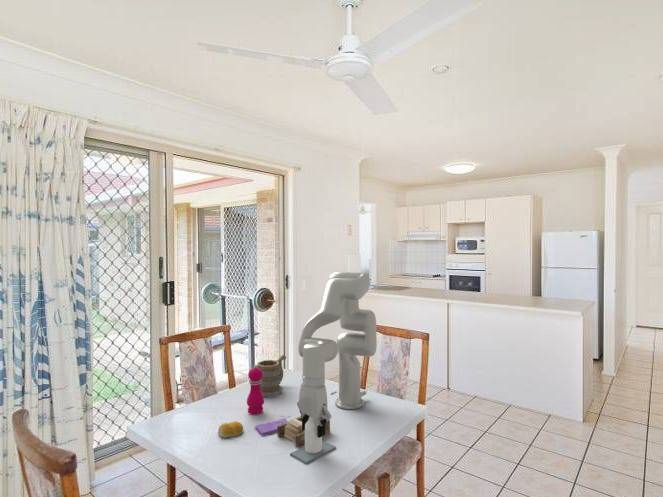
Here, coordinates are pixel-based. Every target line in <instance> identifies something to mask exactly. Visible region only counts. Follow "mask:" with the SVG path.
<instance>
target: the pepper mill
mask: <svg viewBox="0 0 663 497" xmlns="http://www.w3.org/2000/svg"><path fill="white" fill-rule="evenodd" d="M257 367H258V366H257V364H254V365H253V366H252V368H251V369H249V371H248V378H249V384H250V390H249V394H248V396H247V399H246V405H247V406H248V408H247V413H248V415H252V416H253V415H261V414H262V413H263V412H264V407H263V405H264V403H265V397H263V395H262V392H261V389H260V384H261V383H262V382H261V378H262V376H263V372H262V370H261V369H259V368H257Z"/></svg>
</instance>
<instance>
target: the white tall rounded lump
mask: <svg viewBox="0 0 663 497" xmlns="http://www.w3.org/2000/svg"><path fill="white" fill-rule="evenodd" d="M318 425H319V424H318V420H317V419H316V418H313V417H311V416H310V417H309V420H308V421H307V422H306V424H305V444H304V446H305V451H306V452H308V453H318V452H320V451H321V450H322V440H323V436H322V437H320V438H318V437H317V426H318Z"/></svg>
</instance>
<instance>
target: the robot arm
mask: <svg viewBox="0 0 663 497" xmlns="http://www.w3.org/2000/svg"><path fill="white" fill-rule="evenodd" d="M370 287H371V279H370V276H369V275H368V274H367V273H365V272H352V271H351V272H349V271H348V272H347V271H337V272H333V273H331V274H330V275H329V280H328V281H327V283H326V285H325V288H324V289H325V290H324V293H323V296H322V300H321V304H320V308H319V311H318V312H317V313H315V314H314V315H313V316H312V317H311V318H310V319H309V320H307V322H306V323H305V325H304V326H303V328H302V330H301V334H300V338H299V341H298V346H297V347H298V348H297V349H298V350H297V351H298V354H299V356H300V357H301V358H302V375H301V376H302V382H301V383H300V388H299V396H298V401H297V402H296V405H297V407H298V408H297V409H298V411H299V414H300V416H301V418H302V430H305V424H306V422H307V421H308V420H309V417H310V416H311V417H313V418H316V419H317V420H318V424H319V425H318V426H317V437H318V438H320V437H322V438H323V437H324V436H325V435H326V434H325V424H327V422H328V421H329V420H331V419H332V414H331V413H330V411H329V409H328V395H327V394H328V393H327V387H326V385H325V384H326V382H325V381H326V379H325V375H326V374H325V371H326V369H325V365H326V363H327V362H328V363H329V362H331V361H333V360H334V359H335V358H336V357H338V398H336V399H335V402H334V403H335V406H336V407H338V408H340V409H343V410H357V409H360V408H363V406H364V404H365V401H364V400H363V399H362V398H363V396H366V395H367V391H366V390H361V362H360V361H359V358H358V356H359V357H374V356H375V354H376V352H377V347H378V346H377V345H378V344H377V343H378V342H377V340H378V339H377V318H376V314H375V312H374V311H372V310H370V309H361V308H360V307H359V303H360V302H359V300H361V299H362V298H363V297H364V296H365V295H366V294H367V293H368V291H369V290H370ZM337 321H339V323H340V324H339V325H340V328H341V329H342V330H345V331H351V332H342V333H340V334H339V335H338V337H337V338H336V340H333V339H329V338H320V337H319V338H318V337H312V336H313V335H314V333H315V332H316V331H317V330H318V329H321V328H322V327H325V326H327V325H329V324H332V323H335V322H337ZM359 332H362V333H359ZM325 416H326V417H325ZM320 417H322V419H323V420H322V421H321V418H320Z"/></svg>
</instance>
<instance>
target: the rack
mask: <svg viewBox="0 0 663 497" xmlns="http://www.w3.org/2000/svg"><path fill="white" fill-rule="evenodd" d="M325 417H326V416H325ZM320 418H321V421H322V420H323V419H322V417H320ZM294 419H297V420H299V421H300V422H302V418H301V415H300V416H298V417H296V418H294ZM330 420H331V419H330ZM330 420H329V421H328V422H327V424H325V435H327V434H329V433H330V431H331V421H330ZM285 426H287V422H285V423H283V424H280V425H278V426H277V432H276V434H277V437H278V438H282V437H285ZM303 446H305V431H304V432H301V433H299V434H297V435H296V442H295V447H296V448H301V447H303Z"/></svg>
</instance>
